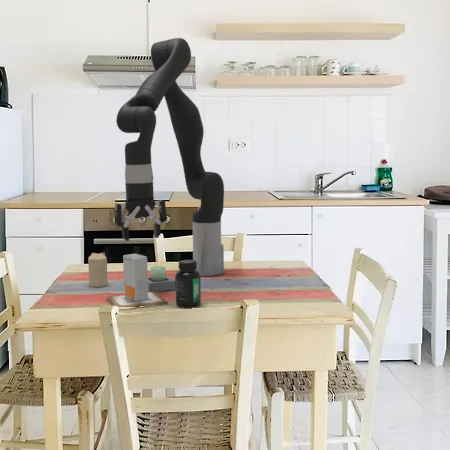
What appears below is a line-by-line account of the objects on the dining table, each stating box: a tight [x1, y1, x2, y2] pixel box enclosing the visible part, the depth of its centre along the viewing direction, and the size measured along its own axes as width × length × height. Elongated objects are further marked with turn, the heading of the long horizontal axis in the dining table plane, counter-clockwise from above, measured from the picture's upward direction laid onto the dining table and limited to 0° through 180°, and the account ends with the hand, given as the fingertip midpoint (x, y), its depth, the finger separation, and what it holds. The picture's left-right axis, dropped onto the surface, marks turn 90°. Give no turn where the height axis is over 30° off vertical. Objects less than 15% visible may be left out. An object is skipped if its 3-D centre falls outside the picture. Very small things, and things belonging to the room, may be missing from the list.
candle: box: [87, 252, 108, 288], centre depth 204 cm, size 6×6×10 cm
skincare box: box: [122, 253, 149, 301], centre depth 184 cm, size 6×4×12 cm
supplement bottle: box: [174, 259, 202, 309], centre depth 180 cm, size 7×7×12 cm
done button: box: [150, 265, 167, 282], centre depth 198 cm, size 4×4×4 cm
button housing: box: [148, 274, 176, 294], centre depth 199 cm, size 8×8×3 cm
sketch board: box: [105, 292, 169, 307], centre depth 185 cm, size 14×12×1 cm
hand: (141, 239), depth 185 cm, fingers open, 8 cm apart
